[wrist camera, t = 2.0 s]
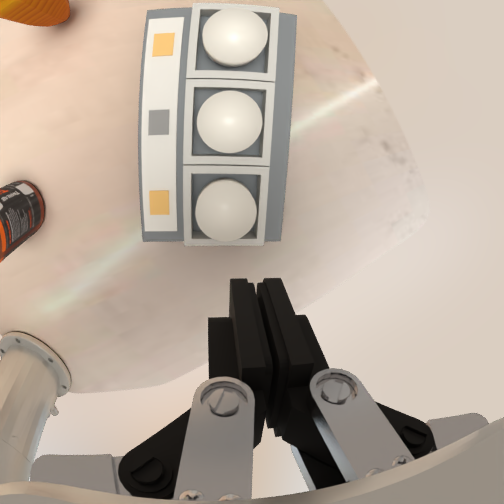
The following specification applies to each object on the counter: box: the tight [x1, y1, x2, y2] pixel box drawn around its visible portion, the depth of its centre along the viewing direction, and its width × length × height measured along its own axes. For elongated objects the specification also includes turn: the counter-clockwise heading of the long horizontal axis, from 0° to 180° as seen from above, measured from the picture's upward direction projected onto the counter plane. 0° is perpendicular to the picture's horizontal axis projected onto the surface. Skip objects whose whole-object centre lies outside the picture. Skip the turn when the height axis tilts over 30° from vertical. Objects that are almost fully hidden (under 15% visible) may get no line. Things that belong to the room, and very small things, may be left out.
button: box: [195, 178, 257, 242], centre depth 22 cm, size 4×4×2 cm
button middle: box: [197, 91, 262, 153], centre depth 19 cm, size 4×4×2 cm
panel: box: [138, 3, 297, 246], centre depth 22 cm, size 20×12×4 cm, turn 177°
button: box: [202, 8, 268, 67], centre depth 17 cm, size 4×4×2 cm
